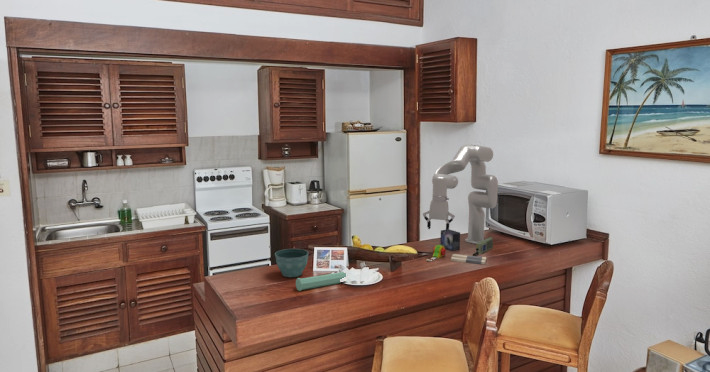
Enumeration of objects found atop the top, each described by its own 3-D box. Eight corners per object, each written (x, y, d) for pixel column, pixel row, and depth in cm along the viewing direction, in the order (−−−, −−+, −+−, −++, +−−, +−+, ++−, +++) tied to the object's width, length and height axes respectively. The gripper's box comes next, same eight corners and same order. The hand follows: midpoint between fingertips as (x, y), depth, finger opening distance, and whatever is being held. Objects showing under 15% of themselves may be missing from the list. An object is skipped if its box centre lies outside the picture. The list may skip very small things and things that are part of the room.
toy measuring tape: (449, 255, 280) (449, 243, 280) (433, 263, 265) (433, 251, 264) (438, 253, 284) (439, 242, 283) (422, 261, 269) (422, 249, 268)
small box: (439, 247, 297) (440, 230, 295) (447, 245, 300) (448, 228, 299) (452, 251, 288) (452, 233, 286) (460, 249, 291) (460, 232, 290)
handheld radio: (493, 248, 296) (476, 257, 276) (488, 247, 298) (470, 256, 278) (493, 237, 295) (476, 246, 276) (488, 236, 297) (470, 245, 278)
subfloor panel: (452, 256, 277) (452, 253, 277) (486, 259, 272) (486, 257, 271) (450, 261, 269) (450, 258, 269) (485, 264, 263) (485, 261, 263)
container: (345, 267, 235) (296, 275, 222) (350, 275, 231) (302, 283, 218) (342, 277, 238) (294, 285, 225) (348, 285, 234) (299, 294, 221)
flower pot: (272, 279, 235) (272, 257, 233) (278, 269, 251) (277, 248, 249) (306, 280, 235) (306, 258, 233) (310, 269, 251) (310, 248, 249)
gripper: (456, 198, 272) (454, 229, 274) (424, 196, 277) (423, 226, 279) (454, 200, 264) (453, 232, 267) (422, 198, 270) (421, 229, 272)
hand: (438, 229), depth 273 cm, fingers open, 9 cm apart
